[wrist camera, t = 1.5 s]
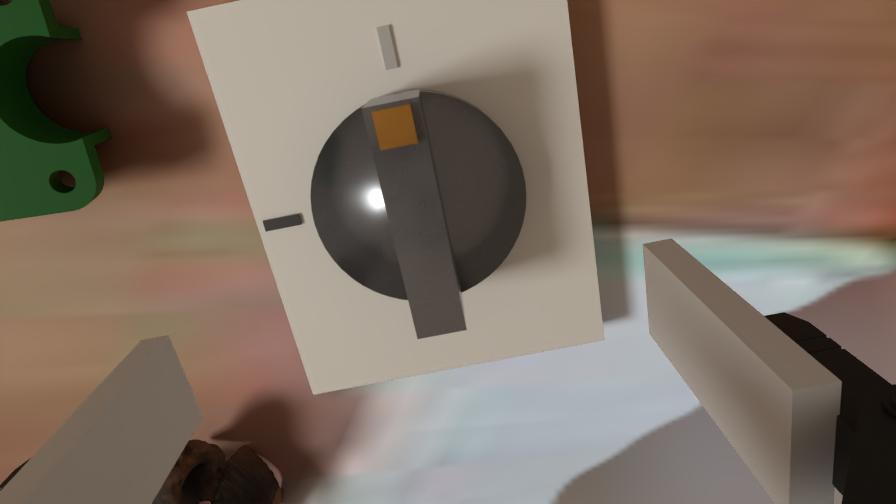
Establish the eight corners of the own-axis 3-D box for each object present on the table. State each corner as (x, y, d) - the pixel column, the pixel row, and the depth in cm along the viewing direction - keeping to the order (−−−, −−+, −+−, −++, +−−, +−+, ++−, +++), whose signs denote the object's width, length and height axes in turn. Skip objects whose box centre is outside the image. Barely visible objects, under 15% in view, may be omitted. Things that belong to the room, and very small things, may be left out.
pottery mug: (300, 527, 42) (218, 643, 36) (203, 476, 45) (112, 574, 39) (273, 422, 35) (166, 543, 29) (161, 371, 38) (43, 470, 32)
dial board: (595, 324, 36) (605, 341, 34) (319, 376, 37) (312, 396, 35) (550, -61, 28) (560, -69, 26) (202, 13, 29) (185, 11, 27)
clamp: (134, 140, 35) (117, 233, 29) (26, 154, 34) (-17, 254, 28) (46, -76, 27) (-5, -13, 21) (-101, -70, 26) (-204, 0, 19)
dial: (535, 269, 32) (557, 316, 27) (345, 305, 32) (329, 359, 27) (504, 69, 28) (523, 76, 23) (290, 113, 29) (257, 130, 23)
